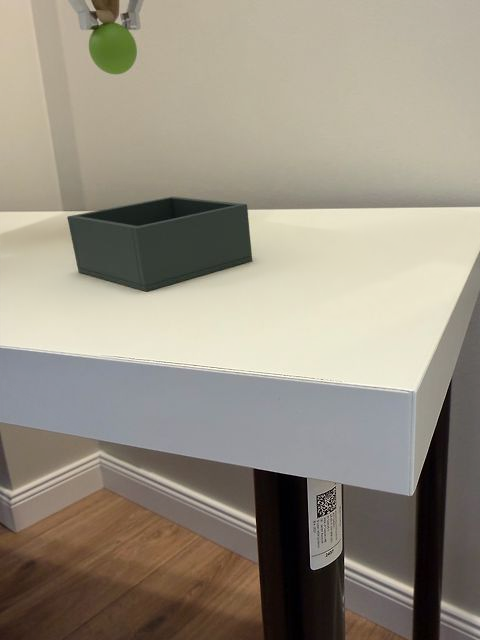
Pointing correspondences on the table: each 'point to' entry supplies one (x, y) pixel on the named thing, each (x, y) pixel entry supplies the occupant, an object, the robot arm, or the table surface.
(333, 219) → the table surface
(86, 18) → the robot arm
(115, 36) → the snail figurine
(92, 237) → the bin
